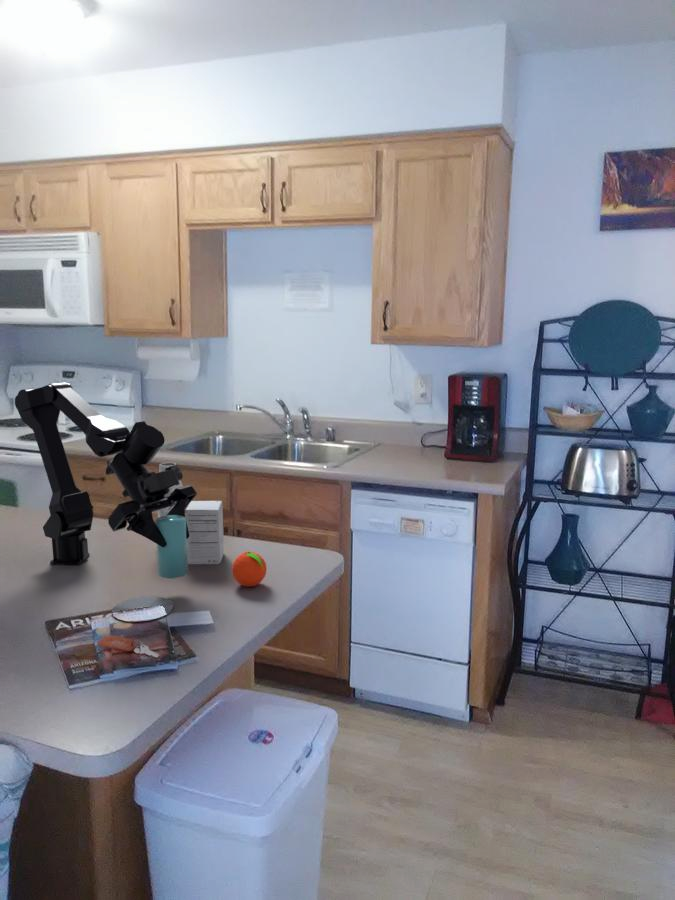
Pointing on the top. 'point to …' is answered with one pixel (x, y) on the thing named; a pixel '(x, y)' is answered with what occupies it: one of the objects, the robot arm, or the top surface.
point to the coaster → (144, 603)
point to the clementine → (249, 569)
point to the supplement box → (205, 532)
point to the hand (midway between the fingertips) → (176, 541)
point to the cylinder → (172, 546)
